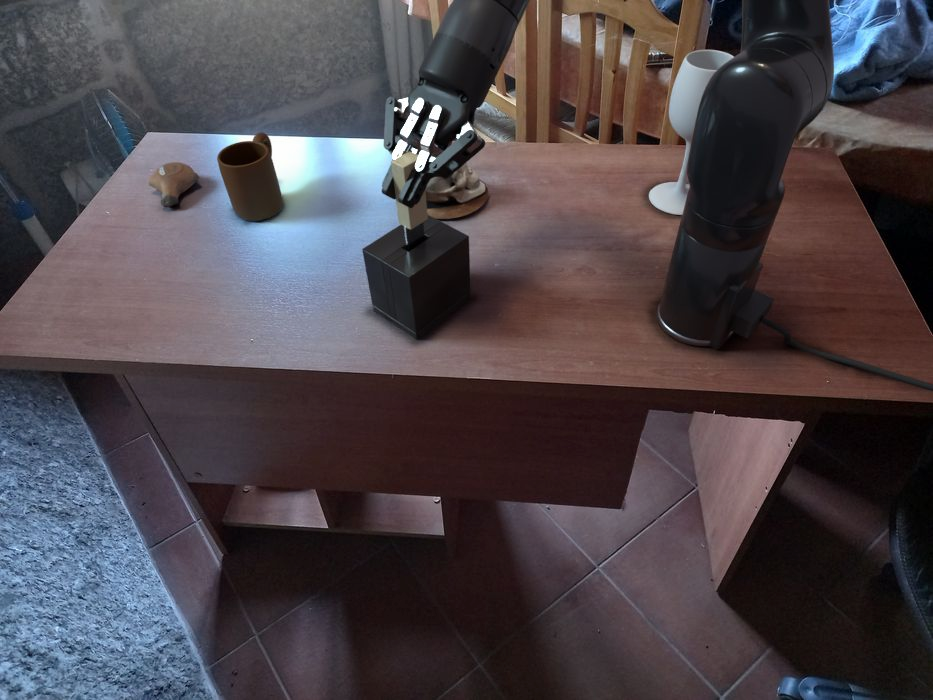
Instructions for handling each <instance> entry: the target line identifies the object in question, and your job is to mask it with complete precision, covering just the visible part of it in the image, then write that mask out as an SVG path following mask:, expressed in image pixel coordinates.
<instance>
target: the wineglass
mask: <svg viewBox="0 0 933 700" xmlns="http://www.w3.org/2000/svg"><path fill="white" fill-rule="evenodd" d="M734 57H735V56H734V55H732V54H731V53H728V52H726V51H721V50H716V49H698V50H694V51H691V52H689V53H688V54H686V55H685V57H684V59H683V60H682V63H681V65H680V67H679V69H678V71H677V75H676V77H675V80H674V82H673V86H672V90H671V93H670V99H669V106H668V118H669V122H670V125H671V127H672V129H673V130H674V132H675V133H676V134H677V135H678V136H679V137H680V138H683V140H685V152H684V158H683V163H682V167H681V169H680V173H679V176H678V180H677V181H669V182H668V181H667V182H662V183H660V184H657V185H655V186H654V187H652V189H650V191H649V193H648V199H649V201H650V203H651V204H652V205H653V206H654V208H656V209H658V210H659V211H662V212H664V213H667V214H671V215H675V216H682V213H683V209H684V205H685V201H686V197H687V193H688V189H689V183H687V181H688V177H687V164H688V158H689V153H690V148H691V142H692V137H693V132H694V127H695V122H696V117H697V113H698V109H699V105H700V101H701V98H702V95H703V92H704V90H705V88H706V85H707V84H708V82H709V80H710V78H711V77H712V76H713V74H714V73H715V72H716V71H717V70H718V69H719V68H720V67H721V66H722V65H724V64H725V63H726V62H728V61H729V60H731V59H732V58H734Z"/></svg>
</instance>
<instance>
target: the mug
mask: <svg viewBox="0 0 933 700" xmlns="http://www.w3.org/2000/svg"><path fill="white" fill-rule="evenodd" d="M272 157H273V146H272V141H271V139H270V137H269V135H268V134H266V133H265V132H263V131H261V132H258V133H256V134H255V135H254V137H253V139H252V140H245V141H238V142H235V143H232V144H229V145H227V146H225V147H224V148H222V149H221V150H220V151H219V152H218V153H217V157H216V161H217V163H218V169H219V172H220V175H221V178H222V181H223V185H224V187H225V190H226V192H227V196H228V199H229V201H230V204H231V207H232V210H233V212H234V213H235V215H236V216H237V217H238V218H240V219H242V220H244V221H250V222H259V221H263V220H268V219H270V218H272V217H274V216H276V215H277V214H278V213H279V212H280V211H281V209H282V208H283V205H284V198H283V194H282V190H281V186H280V183H279V180H278V175H277V172H276V168H275V165H274V161H273V158H272Z"/></svg>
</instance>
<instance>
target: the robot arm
mask: <svg viewBox="0 0 933 700" xmlns="http://www.w3.org/2000/svg"><path fill="white" fill-rule="evenodd" d="M530 3H531V0H452V1H451V3H450V4H449V6H448V8H447V9H446V11H445V13H444V15H443V17H442V18H441V19H442V20H441V22H440V24H439V26H438V28H437V31H436V32H435V34H434V36H433V38H432V41H431V42H430V43H431V44H430V45H429V47H428V50H427V51H426V54H425V56H424V58H423V60H422V62H421V64H420V67H419V69H418V82H417V84H416V85H415V87H414V88H413V89H412V90H411V91H410V92H409V94H408V97H404V98H400V99H397V98H395V97H394V96H389V97H387V99H386V100H385V109H384V110H385V112H384V130H383V148H384V149H385V150H387V152H389V154H390V155H391V157H392V160H394V159H396V158H398V157H400V156H401V155H403V154H405V153H407V152H409V151H411V152H413V153H415V154H417V155H419V156H418V159H417V161H416V164H415V169H416V170H415V171H414V170H411V172H410V174H409V177H408V179H407V181H406V182H405V184H404V186H403V189H402V191H401V193H400V195H399V197H398V202H399V203H401V204H403V205H405V206H407V207H409V208H413V207H414V205H415V204H416V205H417V203H418V202H419V201H420V199H421V197H422V195H423V193H424V191H425V189H426V187H427V185H428V183H429V181H430V179H432V178H434V177H442V178H444V179H447V178H449V177H450V176H451V175H452V174H453V173H455V172H456V171H457V170H458V169H459V168H460V167H462V166H463V165H464V164H465V163H468V162H469V161H470V160H471V159H472V158H473V157H474V156H476V155H477V154H478V153H480V152H481V150H483V149H484V148H485V146H486V140H485V139H484V138H482V136H480V134H478V132H477V131H476V129H475V127H474V126H473V125H474V123H475V115H476V110H477V109H479V108H481V107H482V106H483V104H484V102H485V100H486V98H487V96H488V94H489V92H490V89H491V87H492V85H493V83H494V82H495V79H496V78H497V76H498V73H499V71H500V69H501V67H502V66H503V63H504V61H505V59H506V57H507V55H508V53H509V50H510V49H511V46H512V43H513V40H514V37H515V34H516V31H517V29H518V27H519V25H520V23H521V21H522V19H523V17H524V14H525V12H526V11H527V8H528V6H529V4H530ZM830 7H831V5H830V0H741V13H742V16H741V17H742V18H741V19H742V20H741V21H742V22H741V25H742V26H741V41H740V42H741V43H740V44H741V45H740V52H739V53H738V54H736V55H735V56H734V58H732V59H731V60H729V61H728V62H726V63H725V64H724V65H722V66H721V67H720V68H719V69H718V70H717V71H716V72H715V73H714V74H713V76H712V77H711V78H710V80H709V82H708V84H707V85H706V88H705V90H704V92H703V95H702V98H701V101H700V105H699V109H698V113H697V117H696V122H695V127H694V132H693V137H692V142H691V148H690V153H689V158H688V164H687V181H688V184H689V189H688V193H687V197H686V201H685V205H684V209H683V213H682V215H681V218H680V221H679V226H678V230H677V234H676V237H675V242H674V245H673V250H672V253H671V258H670V261H669V266H668V270H667V273H666V278H665V280H664V281H665V282H664V285H663V290H662V294H661V296H660V300H659V303H658V306H657V309H656V310H657V311H656V319H657V322H658V324H659V326H660V327H661V329H662V330H663V331H664V332H665V333H666V334H667V335H668V336H670V337H671V338H672V339H674V340H676V341H678V342H681V343H683V344H686V345H690V346H695V347H709V348H712V349H714V350H720V349H721V347H723V345H724V344H725V343H726V342H727V341H728V340H729V339H730V338H731V337H732V336H733V334H734V333H735V334H737V335H738V336H740V337H743V338H745V339H748V338H749V337H750V336H751V335H752V333H753V332H755V330H756V329H757V328H758V327H759V325H760V324H761V323H762V324H763V325H765V326H767V327H768V328H770V329H772V330H774V331H776V332H777V333H779V334H780V335H781V336H783V341H784V342H785V343H786V344H787V345H788V346H790V347H791V348H794V349H797V350H799V351H801V352H802V351H803V352H805V353H809V354H810V355H811V354H812V355H814V356H817V357H820V358H823V359H825V360H829V361H832V362H836V363H839V364H844V365H847V366H850V367H853V368H856V369H860V370H863V371H866V372H869V373H873V374H876V375H879V376H881V377H885V378H888V379H891V380H895V381H897V382H901V383H904V384H908V385H911V386H914V387H916V388H921V389H925V390H928V391H931V392H933V383H931V382H927V381H924V380H921V379H916V378H914V377H911V376H907V375H903V374H901V373H897V372H894V371H891V370H887V369H884V368H881V367H878V366H875V365H871V364H869V363H866V362H862V361H859V360H857V359H852V358H849V357H845V356H841V355H837V354H833V353H830V352H825V351H822V350H819V349H815V348H812V347H809V346H806V345H804V344H802V343H800V342H798V341H796V340H794V339H793V338H792V334H791V333H790V332H789V330H787V329H786V328H784V327H783V326H782V325H780V324H778V323H776V322H775V321H773V320H771V319H769V318H767V316H768V315H769V313H770V310H771V309H772V305H773V303H774V301H775V298H774V297H772V296H769V295H767V294H765V293H763V292H760V291H759V290H756V286H757V284H758V281H759V278H760V275H761V273H762V270H763V268H764V263H763V262H761V258H762V255H763V253H764V250H765V248H766V245H767V242H768V239H769V236H770V234H771V231H772V230H773V226H774V223H775V221H776V218H777V216H778V213H779V211H780V208H781V206H782V203H783V200H784V197H785V192H786V187H785V183H784V180H783V179H782V176H783V173H784V170H785V167H786V163H787V161H788V158H789V155H790V153H791V149H792V146H793V144H794V142H795V139H796V137H797V136H798V135H799V134H800V133H801V132H802V131H803V130H804V129H805V128H807V127H808V126H809V125H810V124H811V123H812V122H813V121H814V120H815V119H816V118H817V117H818V116H819V115H820V114H821V113H822V111H823V109H824V108H825V106H826V105H827V103H828V101H829V98H830V97H831V94H832V90H833V86H834V79H835V58H834V44H833V34H832V33H833V32H832V22H831V20H832V19H831V9H830ZM414 135H415V136H416V137H415V136H414ZM429 160H430V161H429ZM381 193H382V195H384V196H386V197H388V198H390V199H392V200H395V201H396V195H395V188H394V180H393V173H392V165H391V164H390V165H389V167H388V170H387V172H386V173H385V176H384V178H383V180H382V183H381Z"/></svg>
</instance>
